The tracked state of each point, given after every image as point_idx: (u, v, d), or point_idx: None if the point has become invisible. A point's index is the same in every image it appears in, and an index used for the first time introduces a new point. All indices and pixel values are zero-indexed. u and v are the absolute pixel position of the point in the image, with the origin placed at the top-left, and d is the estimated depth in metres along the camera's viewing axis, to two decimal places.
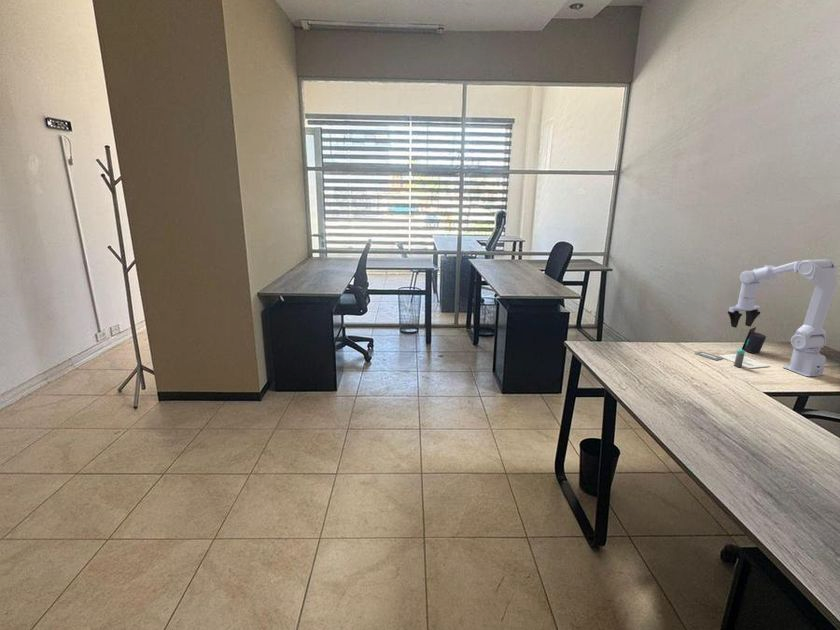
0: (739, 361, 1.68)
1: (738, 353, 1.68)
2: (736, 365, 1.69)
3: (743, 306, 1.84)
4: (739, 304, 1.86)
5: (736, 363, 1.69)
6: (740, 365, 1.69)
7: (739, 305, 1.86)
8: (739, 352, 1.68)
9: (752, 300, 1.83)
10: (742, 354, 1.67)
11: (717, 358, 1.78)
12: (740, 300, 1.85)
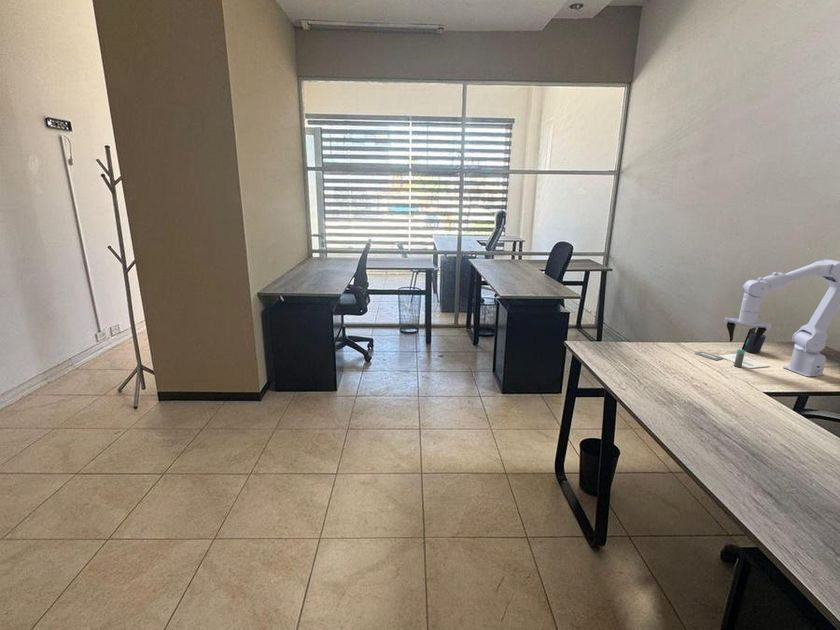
0: (739, 361, 1.68)
1: (738, 353, 1.68)
2: (736, 365, 1.69)
3: (739, 319, 1.66)
4: None
5: (736, 363, 1.69)
6: (740, 365, 1.69)
7: None
8: (739, 352, 1.68)
9: (747, 313, 1.62)
10: (742, 354, 1.67)
11: (717, 358, 1.78)
12: None
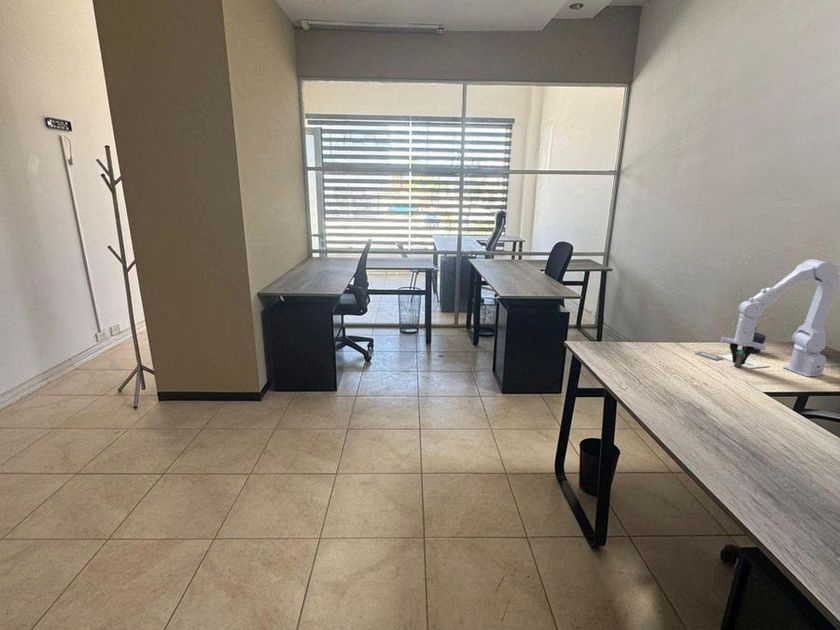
0: (739, 361, 1.68)
1: (738, 353, 1.68)
2: (736, 365, 1.69)
3: (735, 339, 1.68)
4: None
5: (736, 363, 1.69)
6: (740, 365, 1.69)
7: None
8: (739, 352, 1.68)
9: (743, 334, 1.64)
10: (742, 354, 1.67)
11: (717, 358, 1.78)
12: None
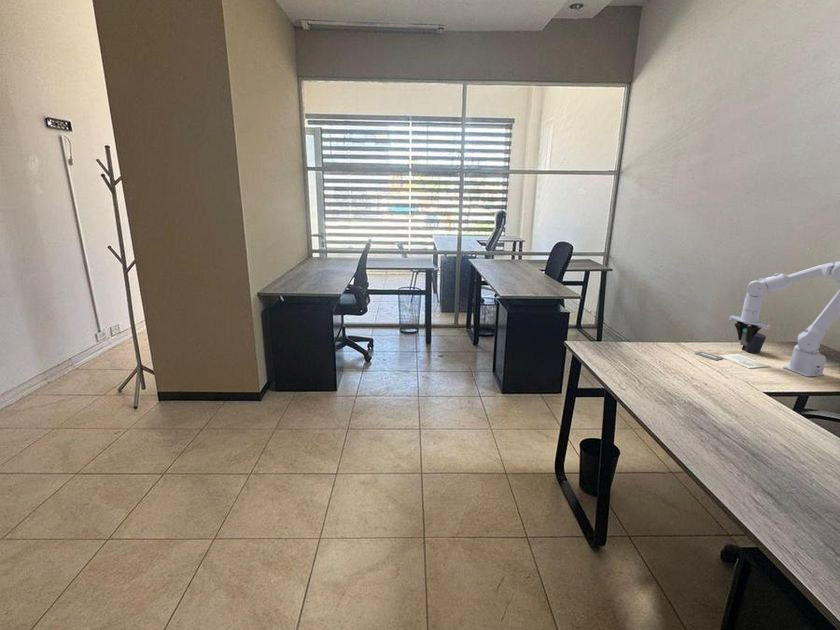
0: (744, 339, 1.74)
1: (743, 331, 1.74)
2: (741, 343, 1.75)
3: (741, 317, 1.74)
4: None
5: (741, 341, 1.75)
6: (744, 343, 1.74)
7: None
8: (743, 330, 1.74)
9: (746, 312, 1.71)
10: (746, 332, 1.73)
11: (717, 358, 1.78)
12: None
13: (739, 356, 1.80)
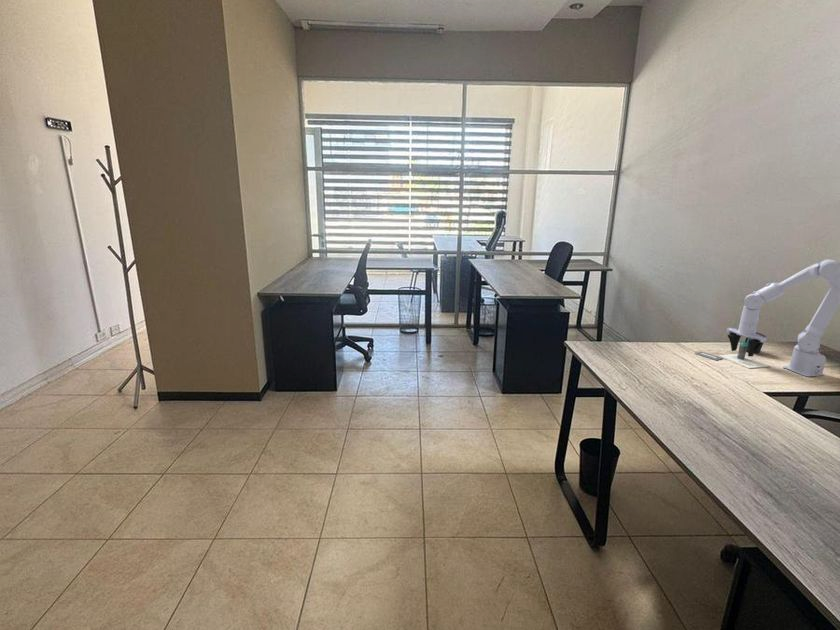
0: (741, 353, 1.76)
1: (740, 345, 1.76)
2: (738, 357, 1.77)
3: (738, 329, 1.76)
4: None
5: (738, 355, 1.77)
6: (742, 357, 1.76)
7: None
8: (741, 344, 1.75)
9: (743, 325, 1.72)
10: (743, 346, 1.75)
11: (717, 358, 1.78)
12: None
13: None
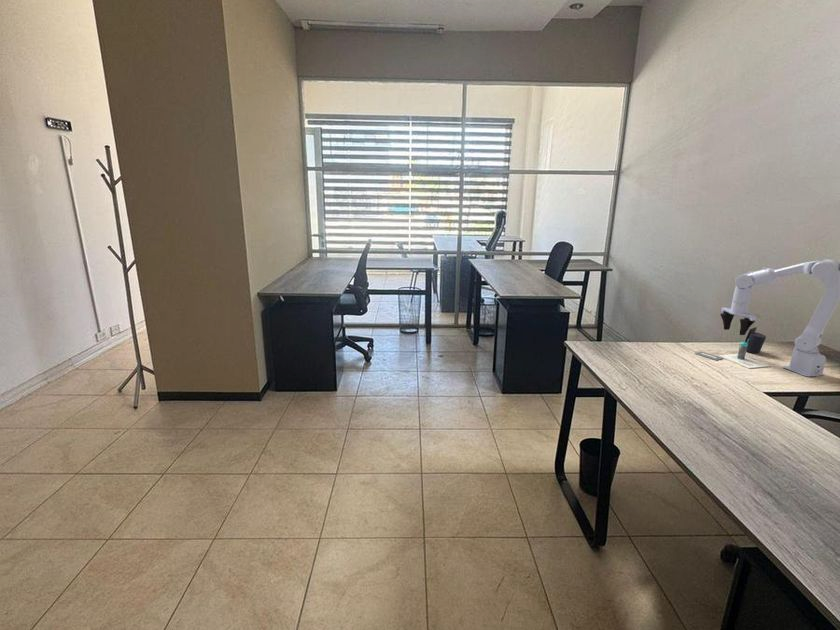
0: (741, 353, 1.76)
1: (740, 345, 1.76)
2: (738, 357, 1.77)
3: (730, 309, 1.81)
4: None
5: (738, 355, 1.77)
6: (742, 357, 1.76)
7: None
8: (741, 344, 1.75)
9: (734, 303, 1.78)
10: (743, 346, 1.75)
11: (717, 358, 1.78)
12: None
13: None
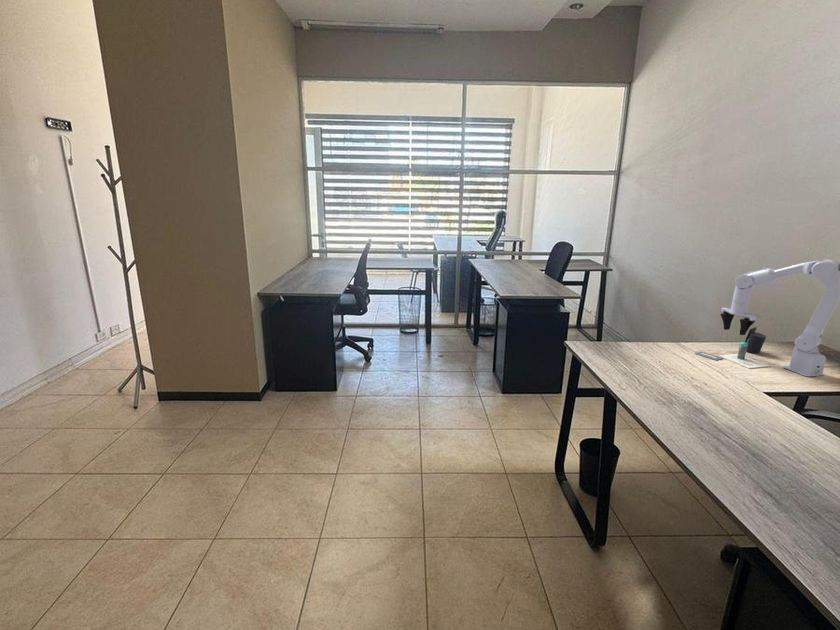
0: (741, 353, 1.76)
1: (740, 345, 1.76)
2: (738, 357, 1.77)
3: (730, 309, 1.81)
4: None
5: (738, 355, 1.77)
6: (742, 357, 1.76)
7: None
8: (741, 344, 1.75)
9: (734, 303, 1.78)
10: (743, 346, 1.75)
11: (717, 358, 1.78)
12: None
13: None
